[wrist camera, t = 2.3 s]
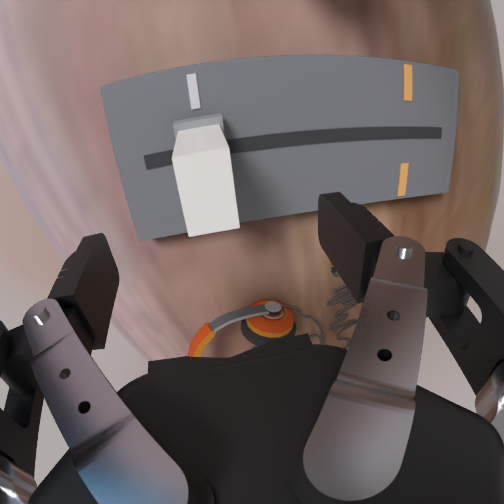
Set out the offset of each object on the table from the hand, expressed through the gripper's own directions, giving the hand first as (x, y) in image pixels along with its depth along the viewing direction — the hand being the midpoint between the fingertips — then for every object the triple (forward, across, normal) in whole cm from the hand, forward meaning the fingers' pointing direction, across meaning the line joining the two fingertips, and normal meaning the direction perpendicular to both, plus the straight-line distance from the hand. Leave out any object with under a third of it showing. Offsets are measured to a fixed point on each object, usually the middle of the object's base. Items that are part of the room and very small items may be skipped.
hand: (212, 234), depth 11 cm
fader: (+11, 0, 0) cm, 11 cm away
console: (+13, -8, 0) cm, 15 cm away
